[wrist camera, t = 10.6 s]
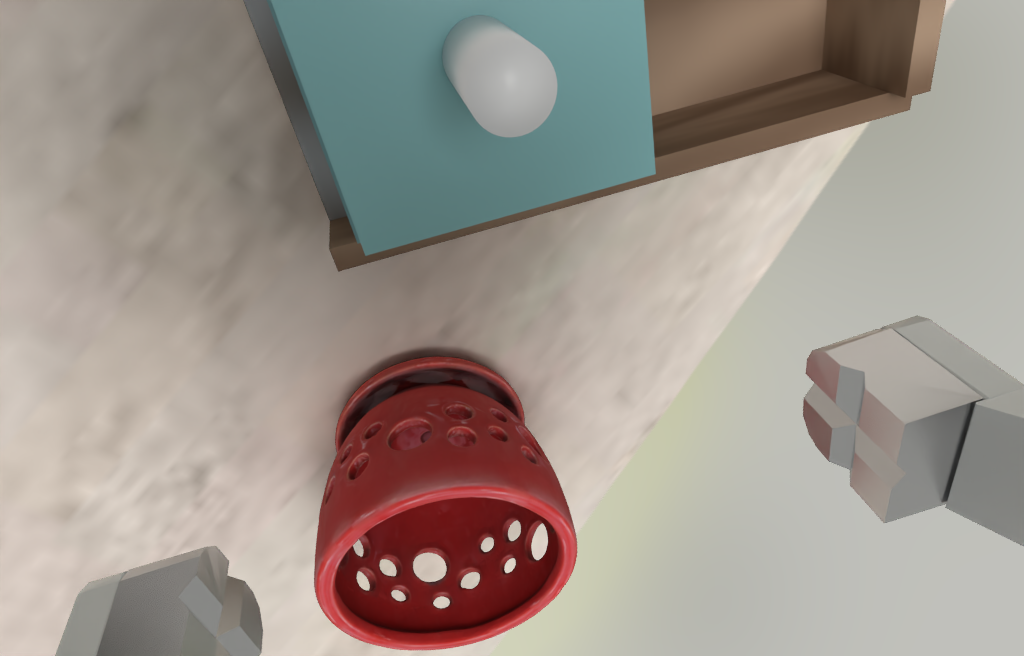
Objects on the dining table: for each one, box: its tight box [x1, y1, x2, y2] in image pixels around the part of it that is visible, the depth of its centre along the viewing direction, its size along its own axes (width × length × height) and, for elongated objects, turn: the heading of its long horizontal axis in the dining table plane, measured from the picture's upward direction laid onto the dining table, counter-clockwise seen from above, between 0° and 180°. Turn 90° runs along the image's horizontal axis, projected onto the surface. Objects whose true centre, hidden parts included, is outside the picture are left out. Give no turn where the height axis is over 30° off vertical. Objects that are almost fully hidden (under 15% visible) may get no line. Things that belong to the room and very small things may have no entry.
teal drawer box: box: [267, 0, 656, 256], centre depth 23 cm, size 12×12×12 cm
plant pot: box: [314, 357, 577, 650], centre depth 37 cm, size 13×13×12 cm
